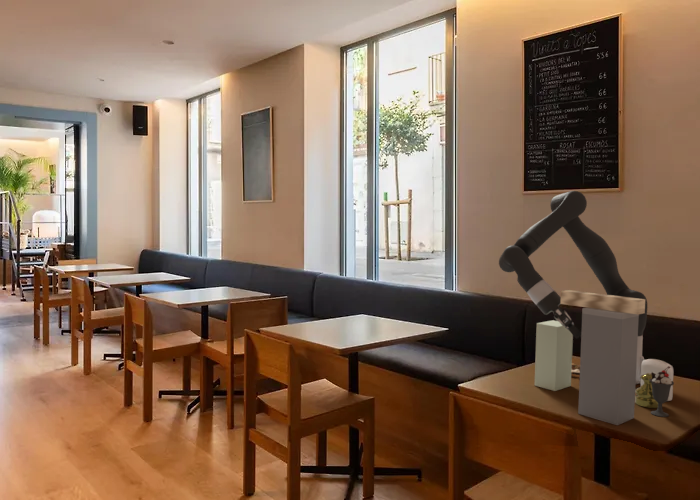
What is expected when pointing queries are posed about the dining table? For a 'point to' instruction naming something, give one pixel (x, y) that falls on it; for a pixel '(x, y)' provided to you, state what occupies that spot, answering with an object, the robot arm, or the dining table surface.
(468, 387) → the dining table surface
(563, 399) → the dining table surface
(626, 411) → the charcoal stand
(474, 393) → the dining table surface
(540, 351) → the sage green pillar
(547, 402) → the dining table surface
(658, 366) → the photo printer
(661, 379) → the sundae
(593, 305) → the ash bar
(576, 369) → the sushi roll
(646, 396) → the gold buddha statue
